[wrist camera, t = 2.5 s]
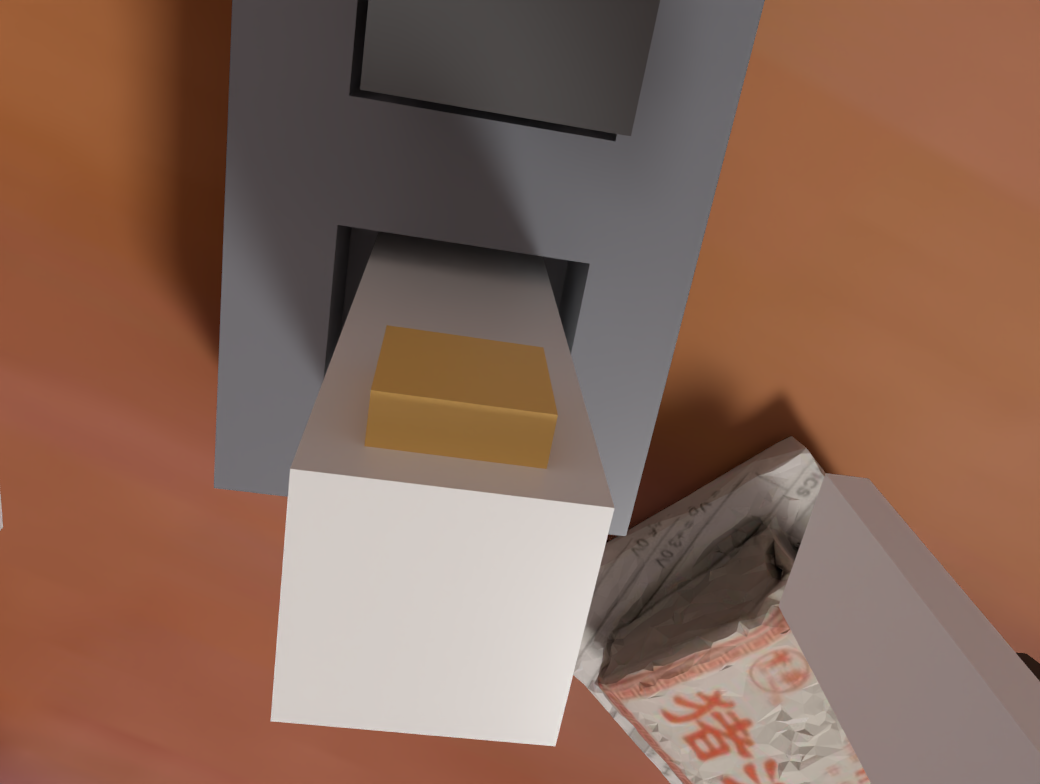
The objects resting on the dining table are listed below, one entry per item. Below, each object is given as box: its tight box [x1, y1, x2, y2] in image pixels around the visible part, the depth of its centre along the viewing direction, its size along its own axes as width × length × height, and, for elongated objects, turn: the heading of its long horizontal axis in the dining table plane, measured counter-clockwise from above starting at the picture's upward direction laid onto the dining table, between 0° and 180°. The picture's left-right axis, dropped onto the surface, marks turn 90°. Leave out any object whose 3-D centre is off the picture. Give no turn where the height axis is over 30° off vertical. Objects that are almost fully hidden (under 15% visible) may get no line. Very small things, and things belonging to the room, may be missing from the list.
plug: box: [271, 231, 614, 746], centre depth 17 cm, size 4×5×12 cm
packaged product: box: [573, 436, 871, 784], centre depth 28 cm, size 18×5×10 cm
